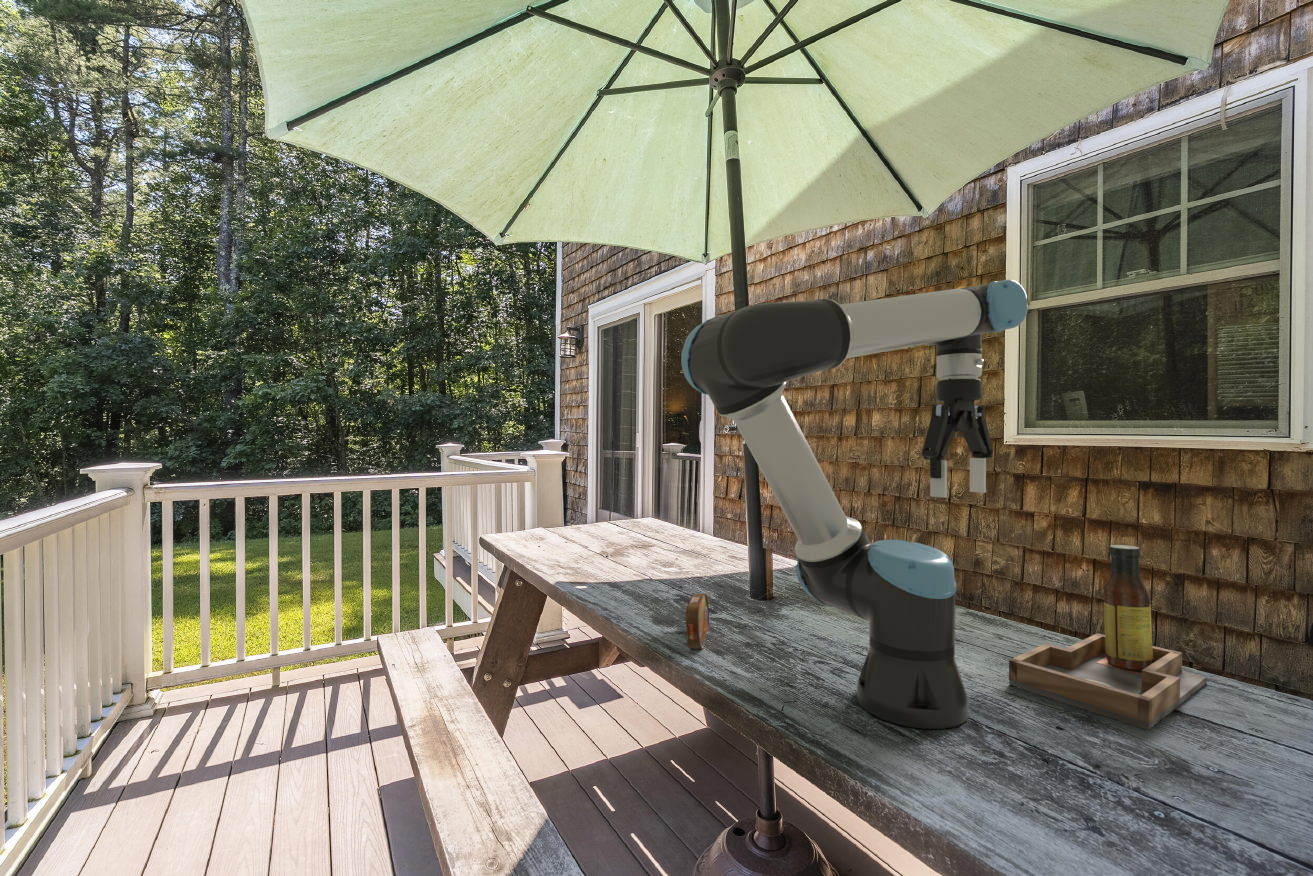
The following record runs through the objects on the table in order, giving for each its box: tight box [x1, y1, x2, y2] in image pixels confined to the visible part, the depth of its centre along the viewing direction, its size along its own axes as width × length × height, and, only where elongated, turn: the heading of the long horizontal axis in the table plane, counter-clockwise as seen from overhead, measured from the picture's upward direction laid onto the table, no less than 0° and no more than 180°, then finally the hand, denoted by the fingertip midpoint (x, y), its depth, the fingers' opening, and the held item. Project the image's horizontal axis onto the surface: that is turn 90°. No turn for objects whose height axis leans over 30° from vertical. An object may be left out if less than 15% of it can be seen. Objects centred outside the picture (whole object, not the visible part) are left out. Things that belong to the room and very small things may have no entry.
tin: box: [685, 592, 710, 650], centre depth 118 cm, size 15×3×8 cm, turn 168°
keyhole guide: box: [1008, 632, 1208, 731], centre depth 97 cm, size 26×18×4 cm
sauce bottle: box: [1103, 544, 1153, 671], centre depth 102 cm, size 6×6×20 cm
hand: (958, 494), depth 113 cm, fingers open, 13 cm apart
